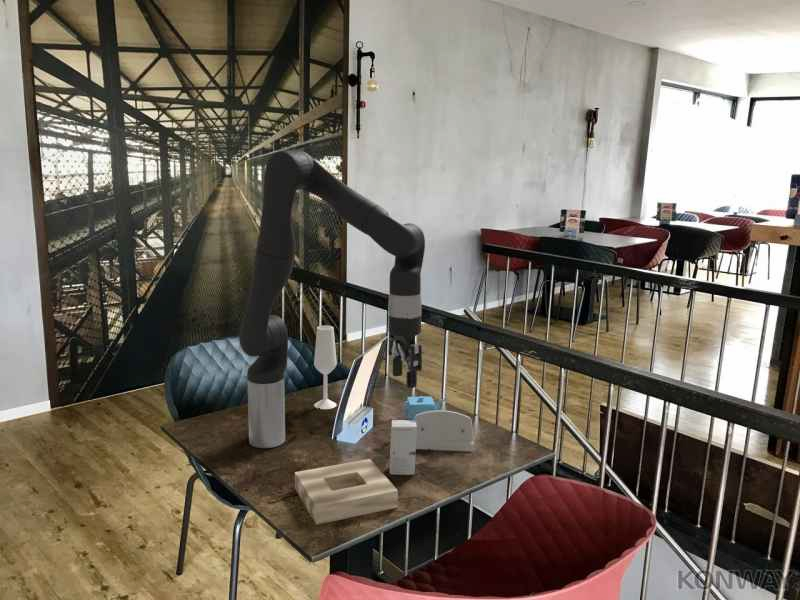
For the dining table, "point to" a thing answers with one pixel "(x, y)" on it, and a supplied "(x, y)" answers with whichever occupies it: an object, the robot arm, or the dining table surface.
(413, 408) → the light blue box
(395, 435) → the skincare box
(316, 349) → the champagne flute
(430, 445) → the grey arched bracket
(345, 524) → the dining table surface
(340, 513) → the well block
